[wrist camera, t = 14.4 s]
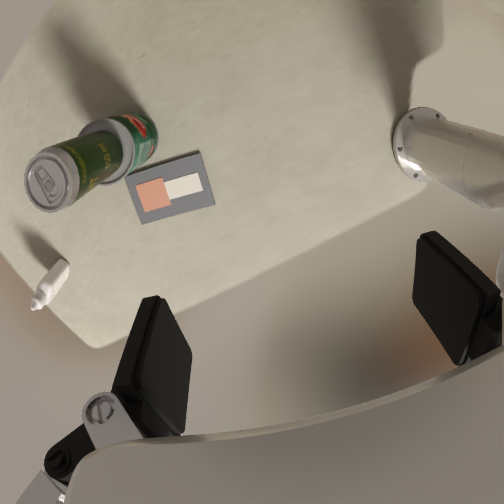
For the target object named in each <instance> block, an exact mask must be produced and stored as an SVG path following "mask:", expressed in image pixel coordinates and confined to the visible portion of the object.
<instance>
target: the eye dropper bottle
mask: <svg viewBox="0 0 504 504" xmlns="http://www.w3.org/2000/svg"><path fill="white" fill-rule="evenodd" d="M69 272H70V266H69V263H67V262H66V261H65V260H63V259H59V260H58V261H57V262H56V263H55V264H54V266H53V267H52V268H51V269H50V270H49V271H48V273H47V274H46V275H45V276H44V277H43V279H42V280H41V281H40V283H39V284H38V286H37V289H36V293H35V295H34V296H33V297H32V299H31V304H32V306H31V310H32V311H34V310H35V309H38V310H40V309H42V307H43V306H44V305H46V304H48V303H49V302H50V301H51V300H52V299H53V297H54V296H55V294H56V293H57V292H58V290H59V289H60V288H61V286H62V285H63V283H64V282H65V281H66V279H67V278H68V276H69Z"/></svg>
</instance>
